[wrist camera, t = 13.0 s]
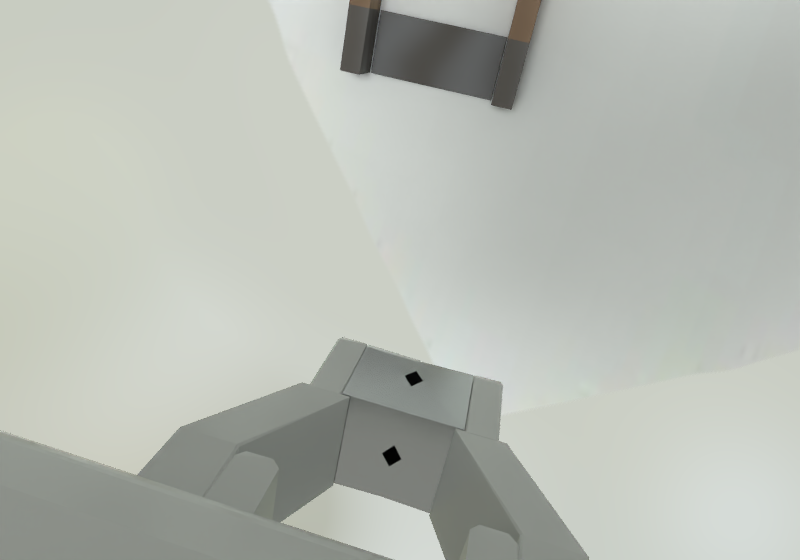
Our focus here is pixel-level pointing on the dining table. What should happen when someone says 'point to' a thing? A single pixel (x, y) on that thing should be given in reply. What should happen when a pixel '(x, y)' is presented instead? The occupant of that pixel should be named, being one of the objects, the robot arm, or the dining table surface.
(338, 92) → the dining table surface
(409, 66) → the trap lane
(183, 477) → the robot arm
